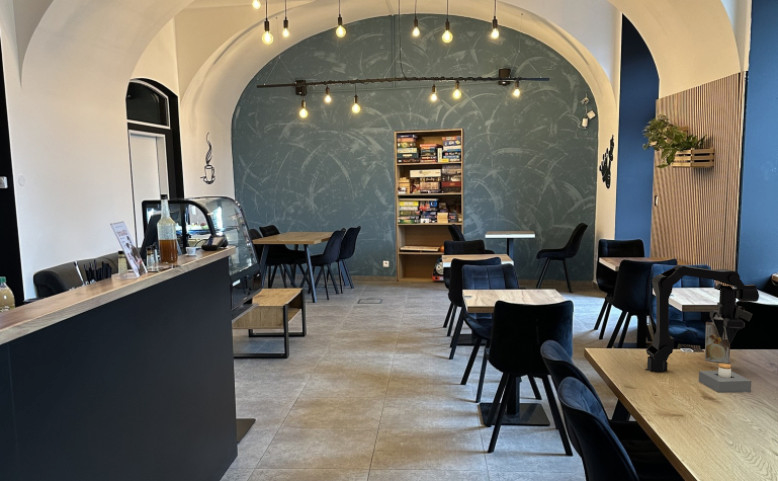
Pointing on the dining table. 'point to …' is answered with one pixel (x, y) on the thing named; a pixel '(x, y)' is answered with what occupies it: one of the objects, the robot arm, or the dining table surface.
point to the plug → (724, 370)
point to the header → (724, 382)
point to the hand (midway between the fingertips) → (725, 339)
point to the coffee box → (716, 345)
